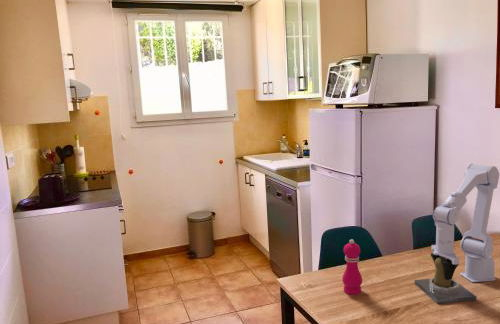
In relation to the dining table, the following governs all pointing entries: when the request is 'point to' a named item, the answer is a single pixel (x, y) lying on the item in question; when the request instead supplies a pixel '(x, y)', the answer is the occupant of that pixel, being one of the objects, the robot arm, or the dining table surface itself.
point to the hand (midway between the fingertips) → (444, 276)
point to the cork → (440, 274)
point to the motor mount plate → (445, 297)
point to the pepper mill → (352, 269)
